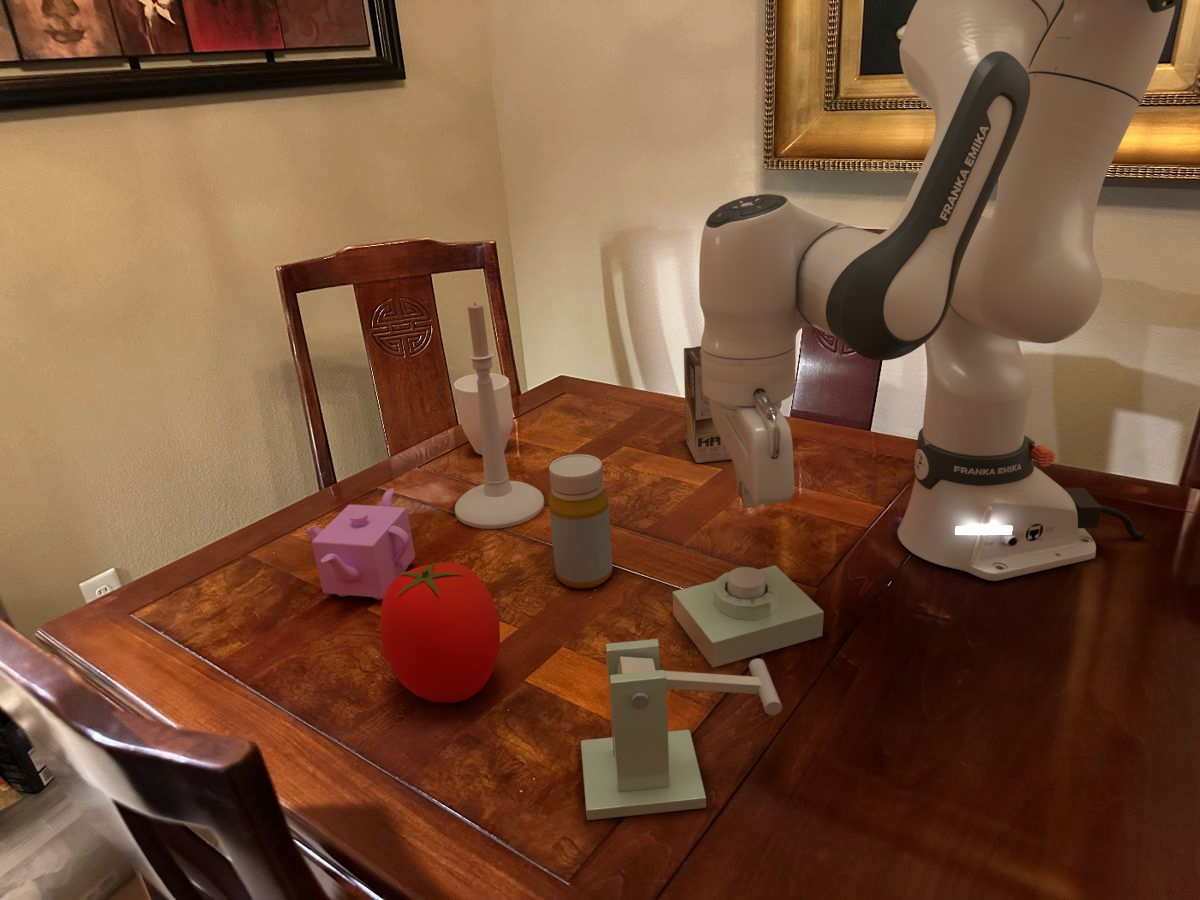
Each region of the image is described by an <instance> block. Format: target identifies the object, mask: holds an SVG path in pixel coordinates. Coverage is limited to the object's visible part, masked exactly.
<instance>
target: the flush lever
mask: <svg viewBox="0 0 1200 900" xmlns="http://www.w3.org/2000/svg"><path fill="white" fill-rule="evenodd" d="M748 670H749V671H750V675H751V676H749V675H737V674H736V675H734V674H719V673H704V672H690V671H675V670H664V671H665V674H666V686H667V689H669V690H671V689H672V690H686V691H687V690H688V691H703V692H715V693H716V692H718V693H730V694H731V693H733V694H748V695H758V696H759V698H760V702H761V704H762V707H763V710H764V712H765V713H766V714H767V715H768V716H777V715H778V714H780V713H781V711H782V710H783V704H782V702H781V700H780V697H779V694H778V691H777V689H776V687H775V685H774V683H773V680H772V677H771V674H770V672H769V669H768V666H767V665H766V662H765V660H763V659H762V658H753V659H752V660H750V661H749V664H748ZM646 671H656V670H655V666H654V661H653V659H651V658H636V657H622V656H620V659H619V664H618V670H617V674H626V673H636V672H646Z"/></svg>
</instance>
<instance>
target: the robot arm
mask: <svg viewBox="0 0 1200 900" xmlns="http://www.w3.org/2000/svg"><path fill="white" fill-rule="evenodd" d="M1182 1H1183V0H916V2H915V4H914V6H913V8H912V10H911V12H910V15H909V17H908V19H907V21H906V25H905V28H904V31H903V34H902V37H901V40H900V43H899V47H898V48H899V60H900V66H901V69H902V72H903V75H904V77H905V80H906V82H907V84H908V86H909V88H910V89H911V90H912V91H913V93H914V94H915V95H916V96H917V97H918V98H920V99H921V100H922V101H923V102H924V103H925V104H926V105H927V106H928V107H929V108H931V109H932V112H933V114H934V118H935V129H934V135H933V139H932V142H931V144H930V147H929V148H928V150H927V154H926V156H925V157H924V160H923V162H922V164H921V167H920V169H919V170H918V173H917V175H916V178H915V180H914V182H913V184H912V186H911V189H910V191H909V193H908V195H907V197H906V200H905V202H904V204H903V207H902V209H901V211H900V213H899V215H898V218H897V219H896V221H894V223H893V224H892V225H891V226H890V227H889V228H887V229H886V230H885V231H883V232H881V233H876V232H872V231H868V230H865V229H863V228H860V227H856V226H854V225H853V226H852V225H849V224H845V223H841V222H837V221H833V220H829V219H826V218H823V217H821V216H818V215H815V214H813V213H810V212H808V211H806V210H803V209H802V208H800V207H799V206H797V205H795V204H794V203H792V202H791V201H790V200H789V199H788V198H787V197H786V196H784V195H780V194H775V193H763V194H761V193H760V194H758V195H748V196H743V197H740V198H737V199H734V200H731V201H729V202H725V204H724V203H723V204H722V205H720V206H718V207H717V208H716V209H715V210H713V212H712V213H710V214H709V215H708V217H707V219H706V220H705V223H704V225H703V229H702V234H701V241H700V248H699V249H700V250H699V262H698V263H699V264H698V265H699V266H698V267H699V268H698V269H699V270H698V271H699V272H698V293H699V294H698V299H699V306H700V309H701V311H702V316H703V320H704V321H703V322H704V323H703V324H704V326H703V332H702V336H701V340H700V346H701V350H700V364H701V368H702V391H703V394H704V395H705V396H706V397H707V398H708V399H709V404H710V411H711V416H712V420H713V424H714V426H715V428H716V430H717V432H718V434H719V436H720V437H721V439H722V441H723V443H724V445H725V447H726V449H727V451H728V453H729V455H730V457H731V459H732V460H731V461H732V462H733V467H734V472H735V476H736V488H737V490H736V491H737V495H738V497H739V498H740V500H741V502H742V504H743V506H744V507H745V508H747V509H750V508H758V507H760V506H761V505H772V504H780V503H787V502H789V501H791V499H792V498H793V496H794V492H795V470H794V469H795V465H794V464H795V463H794V446H793V445H794V443H793V436H792V430H791V427H790V426H791V425H790V424H789V421H788V419H786V417H785V416H784V414H783V413H782V412H781V408H782V405H783V404H782V401H785V400H787V399H789V398H790V397H791V396H792V395H793V394H794V393H795V391H796V361H797V359H796V356H797V353H796V352H797V335H798V333H799V331H800V330H802V329H804V328H805V329H806V328H811V327H814V328H816V329H818V330H820V331H822V332H824V333H826V334H828V335H830V336H831V337H834V338H836V339H837V340H838V341H839V342H841V343H842V344H843V345H845V346H847V347H848V348H849V349H851V350H852V351H854V352H855V353H857V354H858V355H860V356H861V357H864V358H865V359H867V360H872V361H880V362H881V361H892V360H897V359H899V358H902V357H904V356H907V355H909V354H911V353H913V352H914V351H915V350H917V349H918V348H921V347H922V346H923V345H924V347H925V357H926V374H927V375H926V387H925V388H926V389H925V398H924V399H925V400H924V411H923V420H922V427H921V429H920V430H919V431H918V435H917V442H916V447H915V453H914V454H915V455H914V473H913V475H914V482H913V486H912V490H911V494H910V498H909V500H908V505H907V507H906V510H905V513H904V515H903V517H902V519H901V522H900V524H899V525H898V528H897V538H898V541H900V543H901V544H902V546H903V547H905V549H906V550H908V551H909V552H910V553H912V554H913V555H915V556H917V557H919V558H920V559H922V560H925V561H927V562H929V563H932V564H935V565H938V566H942V567H946V568H950V569H954V570H959V571H963V572H967V573H969V574H971V575H973V576H975V577H978V578H980V579H983V580H986V581H991V582H998V581H1002V580H1007V579H1012V578H1015V577H1020V576H1024V575H1029V574H1033V573H1037V572H1041V571H1046V570H1050V569H1054V568H1059V567H1063V566H1064V567H1065V566H1067V565H1068V566H1069V565H1073V564H1078V563H1080V562H1085V561H1089V560H1090V561H1091V560H1093V559H1095V558H1096V555H1097V544H1096V542H1095V540H1094V539H1093V537H1092V535H1091V534H1090V533H1089V532H1088V531H1087V530H1086V529H1098V527H1099V522H1100V517H1101V513H1102V514H1107V515H1111V516H1114V517H1115V518H1118V519H1120V520H1121V521H1122V522H1123V524H1124V526H1125V530H1126V531H1127V533H1128V534H1129V536H1131V537H1132V538H1133V539H1137V540H1138V539H1144V538H1145V533H1144V531H1142V530H1141V531H1138V530H1136V528H1135V526H1134V522H1133V520H1132V518H1131V517H1130V516H1129V515H1127V514H1126V513H1125V512H1123V511H1121V510H1119V509H1117V508H1114V507H1111V506H1107V505H1103V504H1099V503H1098V502H1097V500H1096V499H1095V498H1094V497H1093V496H1092V495H1091V494H1090V493H1089V492H1088V491H1087V489H1086V488H1085V487H1062V486H1061V485H1060V484H1059V483H1057V482H1056V481H1055V480H1053V479H1052V478H1051V477H1050V476H1049V475H1047V474H1046V473H1045V472H1043V471H1042V470H1041V469H1039V468H1038V467H1037V466H1035V465H1034V464H1035V463H1034V461H1036V462H1037V464H1039V465H1040V467H1041V466H1042V467H1049V466H1051V465H1052V463H1055V460H1056V453H1055V452H1054V451H1053V450H1052V449H1050V448H1048V447H1047V446H1046V445H1045V444H1038V445H1036V442H1035V441H1034V440H1033V439H1032V438H1030V437H1029V436H1027V435H1025V434H1026V427H1027V421H1028V416H1029V410H1030V403H1031V398H1032V391H1033V376H1032V373H1031V370H1030V367H1029V365H1028V363H1027V361H1026V360H1025V358H1024V356H1023V353H1022V350H1021V347H1020V343H1019V342H1024V343H1032V344H1045V345H1046V344H1054V343H1058V342H1061V341H1063V340H1064V341H1065V340H1066V339H1068V338H1070V337H1071V336H1074V335H1075V334H1076V333H1077V332H1079V331H1080V330H1081V329H1082V328H1083V327H1084V326H1085V325H1086V324H1087V323H1088V322H1089V320H1090V319H1091V318H1092V317H1093V315H1094V313H1095V311H1096V309H1097V308H1098V306H1099V302H1100V299H1101V296H1102V291H1103V277H1102V272H1101V270H1100V267H1099V265H1098V263H1097V259H1096V257H1095V253H1094V241H1093V239H1094V224H1095V218H1096V211H1097V206H1098V202H1099V198H1100V193H1101V190H1102V187H1103V184H1104V181H1105V178H1106V176H1107V173H1108V171H1109V169H1110V167H1111V165H1112V162H1113V161H1114V158H1115V156H1116V154H1117V152H1118V150H1119V147H1120V145H1121V143H1122V142H1123V139H1124V137H1125V135H1126V133H1127V130H1128V129H1129V127H1130V125H1131V122H1132V121H1133V118H1134V116H1135V114H1136V113H1137V111H1138V108H1139V106H1140V104H1141V102H1142V100H1143V98H1144V97H1145V94H1146V92H1147V90H1148V88H1149V85H1150V83H1151V81H1152V79H1153V76H1154V74H1155V72H1156V69H1157V66H1158V64H1159V61H1160V59H1161V55H1162V53H1163V50H1164V47H1165V44H1166V42H1167V38H1168V35H1169V32H1170V29H1171V25H1172V23H1173V22H1172V21H1173V18H1174V16H1175V15H1174V14H1175V9H1176V6H1177V5H1178V4H1179V3H1180V2H1182ZM1062 3H1063V6H1062V8H1061V10H1060V12H1059V13H1058V11H1059V9H1060V7H1061V5H1062ZM1057 13H1058V15H1057ZM1056 15H1057V16H1056ZM1055 16H1056V18H1055ZM1054 18H1055V20H1054ZM1052 22H1053V23H1052ZM1049 27H1050V28H1049ZM1048 29H1049V30H1048ZM1047 31H1048V32H1047ZM1046 32H1047V33H1046ZM1045 34H1046V35H1045ZM1044 35H1045V37H1044ZM1043 37H1044V39H1043ZM1042 39H1043V40H1042ZM1040 43H1041V44H1040ZM1039 45H1040V46H1039ZM1038 47H1039V48H1038ZM1036 51H1037V52H1036ZM1035 53H1036V54H1035ZM996 185H997V192H996V198H995V204H994V208H993V213H992V215H991V217H987V216H983V213H984V211H985V209H986V207H987V204H988V202H989V201H990V198H991V196H992V193H993V191H994V189H995V187H996ZM1033 460H1034V461H1033Z"/></svg>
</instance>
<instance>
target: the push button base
mask: <svg viewBox="0 0 1200 900" xmlns="http://www.w3.org/2000/svg"><path fill="white" fill-rule="evenodd" d="M758 570H760V571H761V572H763V573H764V575H765V578H766V580H765V594H764V595H763V596H762V597H760V598H756V599H753V600H746V599H738V598H735V597H733V596H731V595H730V594H729V593H728V590H727V576H728V574H729V572H730V571H727V572H724V573H722V574H721V575H720V576H718V577H717V578H716V579H715V580H712V581H709V582H704V583H700V584H697V585H693V586H689V587H684V588H681V589H678V590H674V591H672V615H673V617H674V618H675V620H676V621H677V622H678V624H679V625H680V626H681V628H682V629H683V630H684V632H685V633H686V634H687V635H688V637H689V638H690V640H691V641H692V642H693V644H694V645H695V647H697V649H698V650H699V652H700V653H701V654H702V656H703V657H704V658H705V659H706V661H707V662H708V663H709V665H710V667H712V668H717V667H721V666H725V665H727V664H731V663H734V662H738V661H741V660H744V659H748V658H751V657H754V656H759V655H762V654H765V653H769V652H772V651H776V650H779V649H782V648H783V649H784V648H785V647H789V646H793V645H797V644H800V643H803V642H808V641H810V640H815V639H817V638H818V639H819V638H820V637H823V634H824V633H823V630H824V617H825V615H824V614H825V613H824V612H825V611H824V610H823V609H822V608H820V606H819V605H818V604H817V603H815V602H814V601H813V600H812V599H811V597H809V596H808V595H807V594H806V593H805V592H804V591H803V590H802V589H801V588H800V587H799V586H798V585H796V583H795V582H794V581H793V580H792V579H790V578H789V576H787V575H786V574H785V572H783V571H782V570H781V569H780V568H779V567H778V566H777V565H770V566H766V567H763V568H759V569H758Z"/></svg>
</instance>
